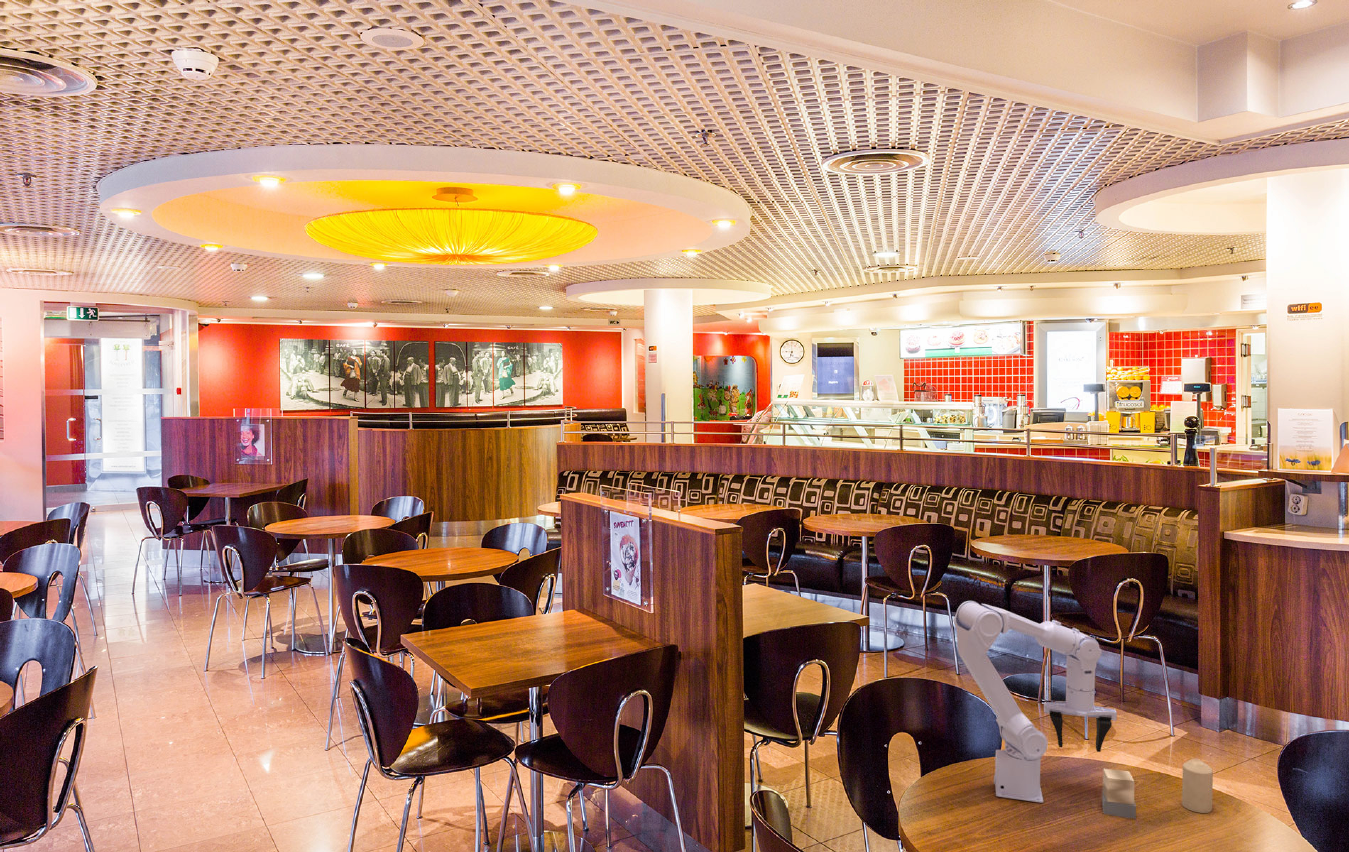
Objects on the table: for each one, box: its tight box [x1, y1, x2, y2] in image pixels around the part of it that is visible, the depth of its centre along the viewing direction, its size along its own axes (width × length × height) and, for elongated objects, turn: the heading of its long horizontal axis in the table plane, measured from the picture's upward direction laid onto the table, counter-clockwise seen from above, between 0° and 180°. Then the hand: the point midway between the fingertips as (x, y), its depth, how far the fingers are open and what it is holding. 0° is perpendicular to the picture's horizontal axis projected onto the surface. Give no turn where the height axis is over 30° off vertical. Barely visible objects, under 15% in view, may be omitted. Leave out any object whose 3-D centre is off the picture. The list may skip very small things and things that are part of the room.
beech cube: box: [1102, 768, 1135, 805], centre depth 183 cm, size 5×5×5 cm
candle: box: [1181, 758, 1214, 814], centre depth 185 cm, size 6×6×10 cm
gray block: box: [1101, 788, 1137, 820], centre depth 184 cm, size 6×6×3 cm
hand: (1079, 747), depth 193 cm, fingers open, 7 cm apart
